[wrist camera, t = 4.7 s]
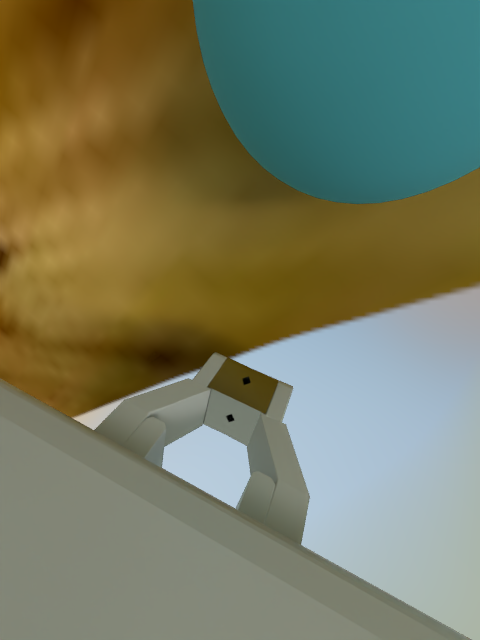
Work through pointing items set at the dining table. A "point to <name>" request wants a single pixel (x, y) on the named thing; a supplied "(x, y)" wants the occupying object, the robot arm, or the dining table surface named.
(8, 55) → the dining table surface
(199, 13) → the ball
